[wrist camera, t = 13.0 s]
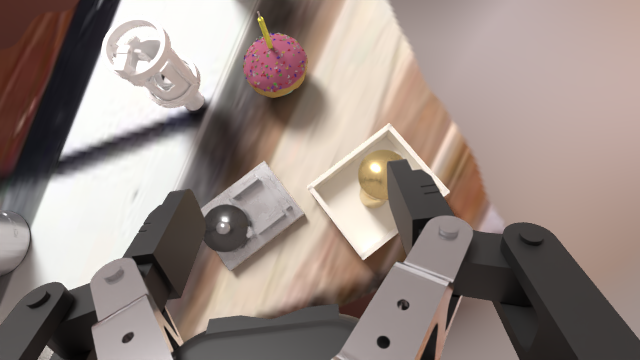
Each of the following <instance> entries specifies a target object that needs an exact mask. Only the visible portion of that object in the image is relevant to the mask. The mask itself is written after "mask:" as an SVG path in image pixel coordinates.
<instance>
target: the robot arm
mask: <svg viewBox="0 0 640 360" xmlns="http://www.w3.org/2000/svg"><path fill="white" fill-rule="evenodd" d="M387 190H388V200H389V205H390V209H391V212H392V215H393V218H394V220H395V223H396V226H397V229H398V232H399V235H400V238H401V241H402V244H403V247H404V250H405V253H406V255H407V258H406V259H405V261H404V262H403V263H402V262H400V261H397V262H396V263H395V264H394V265H393V267H392V268H391V270H390V271H389V273H388V275H387V276H386V278H385V279H384V281H383V283H382V284H381V286H380V288H379V289H378V291H377V292H376V294H375V296H374V297H373V299H372V301H371V302H370V304H369V305H368V307H367V309H366V310H365V312H364V314H363V315H362V317H361V318H360V319H358V318H355V317H352V316H349V315H344V314H340V313H339V308H338V304H331V305H323V306H315V307H306V308H303V309H300V310H298V311H295V312H292V313H289V314H287V315H284V316H281V317H278V318H275V319H263V318H256V317H248V316H241V315H240V316H232V317H224V318H216V319H209V323H208V327H207V330H206V331H204V332H202V333H200V334H198V335H196V336H194V337H193V338H191V339H189V340H188V341H186V342H185V343H183V341H182V339H181V337H180V335H179V333H178V331H177V328H176V326H175V324H174V322H173V320H172V318H171V316H170V314H169V312H168V310H167V308H166V307H165V304H166V302H167V300H169V299H177V298H181V296H182V293H183V290H184V288H185V285H186V282H187V280H188V277H189V274H190V272H191V269H192V266H193V263H194V261H195V258H196V255H197V253H198V250H199V247H200V245H201V242H202V239H203V237H204V234H205V230H206V222H205V218H204V216H203V213H202V211H201V209H200V207H199V205H198V202H197V200H196V198H195V196H194V194H193V192H192V191H191V190H190V189H186V190H179V191H172V192H170V193H169V194H168V195H167V197H166V199H165V200H164V202H163V204H162V205H159V206H158V207H157V208H156V209H155V210H153V211H152V212H151V213H150V214H149V215H148V217H147V219H146V220H145V222H144V225H143V226H142V227H141V228H140V230H139V233H137V235H136V236H135V238H134V240H133V241H132V243H131V244H130V246H129V248H128V249H127V251H126V252H125V254H124V256H123V257H122V258H121V259H117V260H114V261H112V262H110V263H108V264H106V265H105V266H103V267H102V268H101V269H100V270H99V271H98V272H96V274H95V275H94V276H93V278H92V280H91V282H90V283H88V284H86V285H83V286H80V287H78V288H75V289H72V290H69V291H68V290H67V289H66V287H65V286H64V285H63V284H61V283H59V282H52V283H48V284H45V285H42V286H40V287H38V288H36V289H35V290H33V291H31V292H30V293H29V294H27V295H26V296H25V297H24V298H23V299H21V300H20V302H19V303H18V304H17V305H16V306H15V308H14V309H13V310H12V311H11V313H10V314H9V315H8V317H7V318H6V319H5V320H4V322H3V323H2V324H1V325H0V360H37V359H38V357H39V356H40V354H41V353H42V351H43V349H44V348H45V346H46V345H47V346H48V347H49V348H50V349H51V350H52V351H54V353H53V355H52V357H51V358H50V360H440V358H441V354H442V351H443V347H444V343H445V340H446V337H447V334H448V332H449V329H450V327H451V324H452V322H453V319H454V317H455V314H456V311H457V309H458V306H459V304H460V301H461V299H462V296H466V297H472V298H478V299H484V300H490V301H492V302H493V304H494V307H495V309H496V311H497V313H498V315H499V317H500V319H501V321H502V323H503V326H504V328H505V330H506V332H507V334H508V336H509V338H510V341H511V343H512V345H513V347H514V349H515V351H516V353H517V355H518V357H519V360H640V340H639V339H638V337H637V336H636V335H635V334H634V332H633V331H632V330H631V329H630V328H629V326H628V325H627V324H626V323H625V321H624V320H623V319H622V318H621V316H619V314H618V313H617V312H616V311H615V309H614V308H613V307H612V305H611V304H610V303H609V302H608V300H606V298H605V297H604V296H603V294H602V293H601V292H600V291H599V289H598V288H597V287H596V286H595V284H594V283H593V282H592V281H591V280H590V278H589V277H588V276H587V275H586V273H585V272H584V271H583V270H582V268H581V267H580V266H579V265H578V264H577V262H576V261H575V260H574V259H573V257H572V256H571V255H570V254H569V252H568V251H567V250H566V249H565V247H564V246H563V245H562V244H561V242H560V241H559V240H558V239H557V238H556V236H555V235H554V234H553V233H551V232H550V231H549V230H547V229H545V228H543V227H541V226H538V225H535V224H532V223H524V222H523V223H514V224H511V225H509V226H507V227H506V228H505V229H504V232H503V234H495V233H485V232H479V231H475V230H472V228H471V226H470V225H469V224H468V223H467V222H465V221H464V220H462V219H460V218H457V217H455V216H454V214H453V212H452V211H451V209H450V207H449V205H448V204H447V202H446V200H445V199H444V197H443V195H442V194H441V193H440V190H439V188H438V187H437V186H436V183H435V182H434V180H433V178H432V176H431V175H429V174H428V173H426V172H425V171H423V170H422V169H419V170H412V169H411V167H410V165H409V163H408V161H407V159H400V160H393V161H387ZM29 242H30V233H29V228H28V226H27V223H26V222H25V220H24V219H23V218H22V217H21V216H20V215H19V214H17V213H15V212H11V211H4V210H0V276H1V275H4V274H7V273H9V272H10V271H12V270H13V269H15V268H16V267H17V266H18V265H19V264H20V263H21V261H22V260H23V258H24V257H25V255H26V252H27V250H28V246H29Z"/></svg>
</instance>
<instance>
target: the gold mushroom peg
mask: <svg viewBox="0 0 640 360" xmlns="http://www.w3.org/2000/svg"><path fill="white" fill-rule="evenodd" d="M400 159H403V158H402V157H401V156H400V155H399V154H397V153H395V152H393V151H390V150H377V151H374V152H372V153H370V154H368V155H367V156H366V157H365V158H364V159H363V160H362V162H361V164H360V166H359V170H358V181H359V184H360V187H361V188H360V192H359V196H360V200H361V202H362V203H363V204H364V205H365V206H366V207H369V208H378V207H381V206H382V205H383V204H384V203H385V202H386V201H387V200H388V190H387V161H393V160H400Z"/></svg>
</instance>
